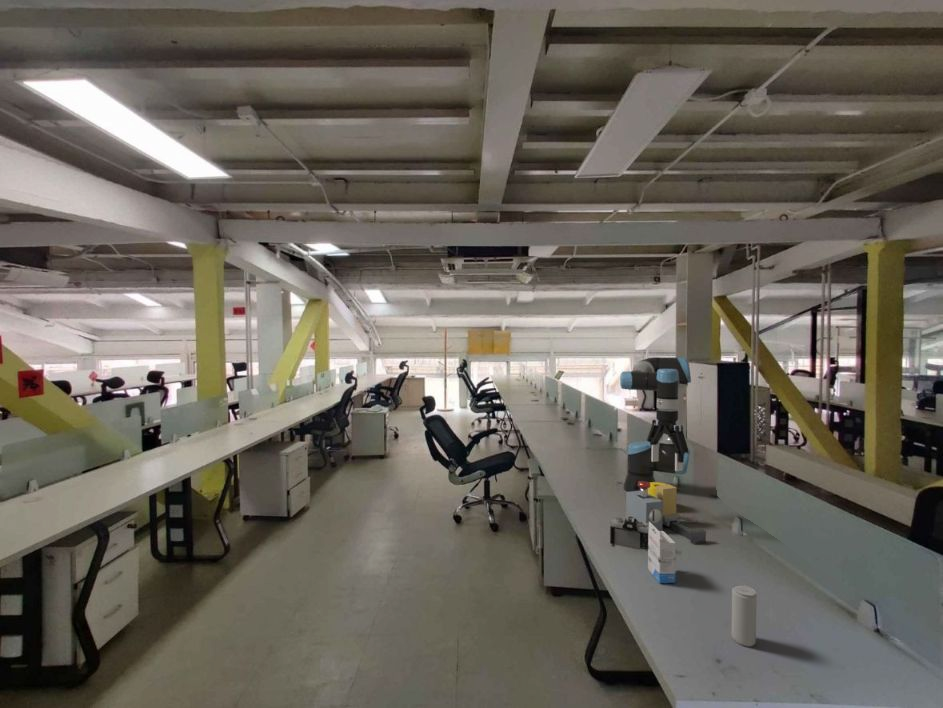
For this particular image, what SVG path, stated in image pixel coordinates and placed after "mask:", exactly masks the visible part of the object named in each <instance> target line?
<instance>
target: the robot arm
mask: <svg viewBox="0 0 943 708" xmlns="http://www.w3.org/2000/svg"><path fill="white" fill-rule="evenodd" d="M689 361H690V360H688V358H686V357H659V356H658V357H657V356H655V357H654V356H652V357H648V358H644V359H642V360H639V361H637V362H636V363H635V364H634V365H633V368H632V370H631V371H630V370H627V371H625V370H624V371H622V372H621V373H620V378H619V379H620V380H619V381H620V384H619V385H620V388H621V389H623V390H628V391H631V390H632V391H633V390H634V391H650V392H651V391H652V392H653V391H654V392H656V410H655V411H656V415H655V416H656V417H655V418H656V419H652V421H651V427H650V429H649V434H648V436H647V437H646V438H647V439H646V440H647V441H646V440H644V441H643V440H642V441H639V440H638V441H634V442H631V443H629V444H628V446H627V453H626V454H627V474H626V477H625V480H624V483H623V490H624V491H625V492H632V491H640V487H639V486H638V481H646V482H656V479H655V476H654V475H655V473H654V472H659V473H667V474H674V475H685V474H686V473H687V470H688V466H689V461H690V453H691V449H689V448H688V444H687V441H686V436H685V434H684V420H685V419H684V418H685V417H684V415H685V414H684V413H685V412H684V410H685V409H684V408H685V407H684V406H685V404H684V403H685V389H687V388H688V385H689V384H690V383H691V382H692V377H691V369H690V362H689ZM661 438H662V439H661Z"/></svg>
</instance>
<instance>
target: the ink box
mask: <svg viewBox="0 0 943 708" xmlns="http://www.w3.org/2000/svg"><path fill="white" fill-rule="evenodd" d="M652 529H653V530H655V531H653V530H652ZM676 550H677V543H676V542H675V541H674V539H672V538H671V537H670V536H669V535H668V534H667V533H666V532H665V531H663V530H662V531H658V530H657V529H656V528H655V527H654V526H653V525H652V524H651V523H650V522H649V532H648V551H647V554H648V555H647V569H648V571H649V572H650V573H651V574H652V575H653V577H654V578H655V579H656V581H657V582H658V583H660V584H676V568H677V567H676V565H677V564H676V554H677V553H676V552H677V551H676Z"/></svg>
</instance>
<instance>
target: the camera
mask: <svg viewBox="0 0 943 708" xmlns="http://www.w3.org/2000/svg"><path fill="white" fill-rule="evenodd" d="M609 524H610V525H609V530H610V531H609V532H610V533H609V536H610V537H609V541H610V542H609V544H611V545H615V546H621V547H624V548H629V549H634V550H639V551H644V552H648V532H649V524H648V523H645V525H644V524H643V522H639V521H638V520H637V519H635V518H634V517H630V516H629V517H628V516H627V518H626V517H625V518H622V517H616V518H615V519H614V518H613V519H611V521H610V520H609ZM655 528H656V527H655ZM652 530H653V529H652ZM653 531H655V530H653Z"/></svg>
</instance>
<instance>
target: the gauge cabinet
mask: <svg viewBox="0 0 943 708" xmlns="http://www.w3.org/2000/svg"><path fill="white" fill-rule="evenodd" d="M625 493H626V494H625V518H627V516H628V517H629V516H630V517H634V518H635V519H637V520H638V521H639V522H643V524H644V525H645V523H648V524H649V522H650V523H651V524H652V525H653V526H654V527H656V529H657V530H658V531H663V524H662V518H663V501H661V500H659V499H657V498H656V497H654V496H652V495H650V494H648V498H646V499H642V498H640V491H632V492H627V491H625Z"/></svg>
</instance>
